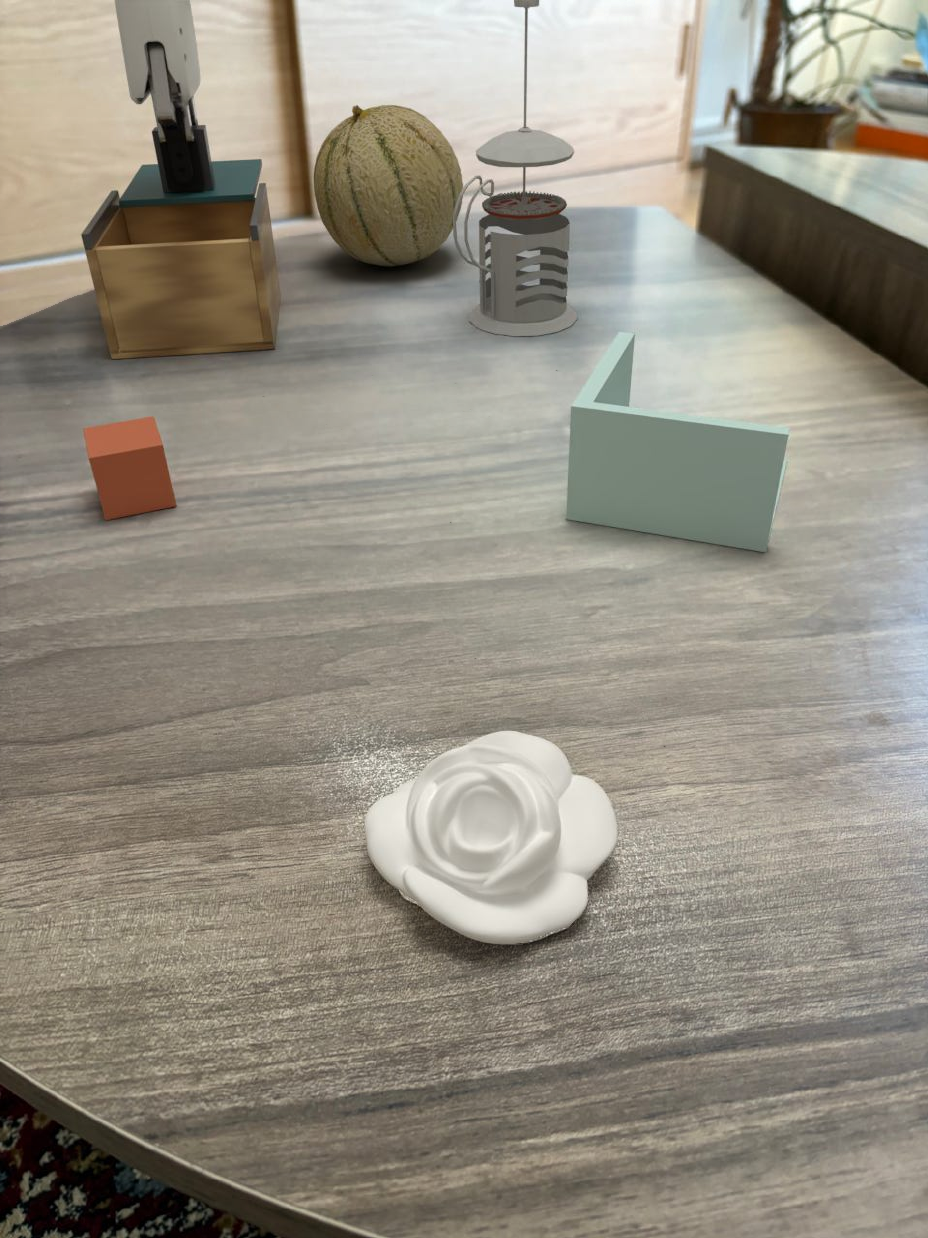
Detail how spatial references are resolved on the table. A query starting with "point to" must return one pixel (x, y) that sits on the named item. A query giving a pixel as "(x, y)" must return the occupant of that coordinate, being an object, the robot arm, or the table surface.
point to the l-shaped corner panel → (669, 465)
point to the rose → (495, 838)
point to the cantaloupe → (387, 185)
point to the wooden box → (184, 277)
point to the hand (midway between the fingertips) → (188, 184)
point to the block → (129, 467)
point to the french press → (521, 236)
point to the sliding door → (220, 179)
